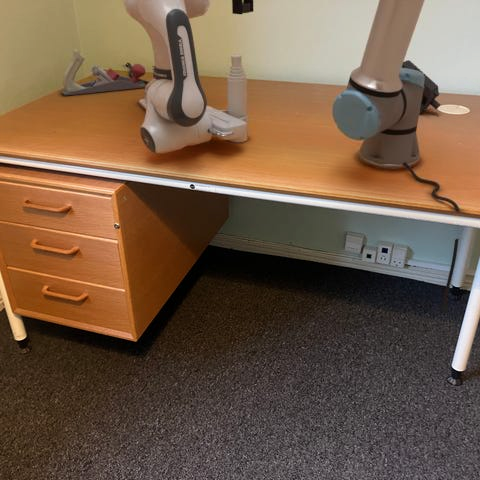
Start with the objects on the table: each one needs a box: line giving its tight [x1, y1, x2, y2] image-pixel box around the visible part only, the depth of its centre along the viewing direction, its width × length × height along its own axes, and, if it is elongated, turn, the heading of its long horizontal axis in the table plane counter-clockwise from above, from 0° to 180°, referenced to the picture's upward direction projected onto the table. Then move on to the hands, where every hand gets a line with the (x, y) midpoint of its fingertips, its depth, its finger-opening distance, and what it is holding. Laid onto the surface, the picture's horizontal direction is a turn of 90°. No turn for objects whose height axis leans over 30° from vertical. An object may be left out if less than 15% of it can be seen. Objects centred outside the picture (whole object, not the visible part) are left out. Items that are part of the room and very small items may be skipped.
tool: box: [401, 59, 442, 114], centre depth 170 cm, size 6×19×15 cm, turn 51°
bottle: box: [226, 54, 248, 143], centre depth 147 cm, size 5×5×23 cm
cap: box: [242, 1, 251, 14], centre depth 135 cm, size 4×4×2 cm
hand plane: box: [61, 48, 146, 96], centre depth 194 cm, size 7×31×15 cm, turn 107°
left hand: (240, 115), depth 150 cm, fingers closed on bottle, 5 cm apart
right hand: (243, 12), depth 136 cm, fingers closed on cap, 4 cm apart
